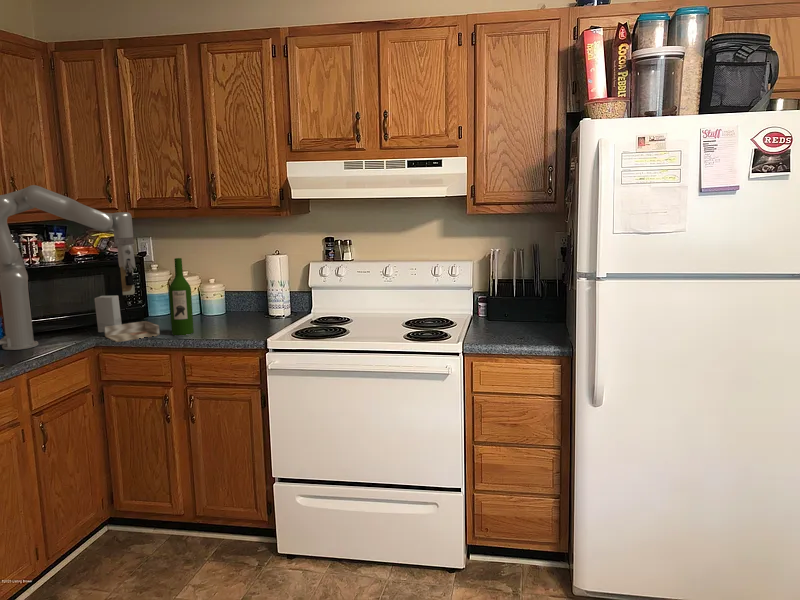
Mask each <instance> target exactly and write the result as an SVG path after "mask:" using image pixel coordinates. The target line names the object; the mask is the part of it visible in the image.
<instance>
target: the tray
mask: <svg viewBox="0 0 800 600" xmlns="http://www.w3.org/2000/svg"><path fill="white" fill-rule="evenodd" d="M104 331H105V332H104V337H105V338H106V339H108V340H111V341H113V342H115V343H121V342H128V341H133V340H140V339H139V338H141V339H145V338H144V337H148V338H152V336H154V337H159V336H158V335H160V336H161V334H160V332H161V331H160V325H159V324H156V323H154V322H151V321H148V320H145V321H143V320H142V321H136V322H128V323H122V324H120V325H113V326H106V327H104Z"/></svg>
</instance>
